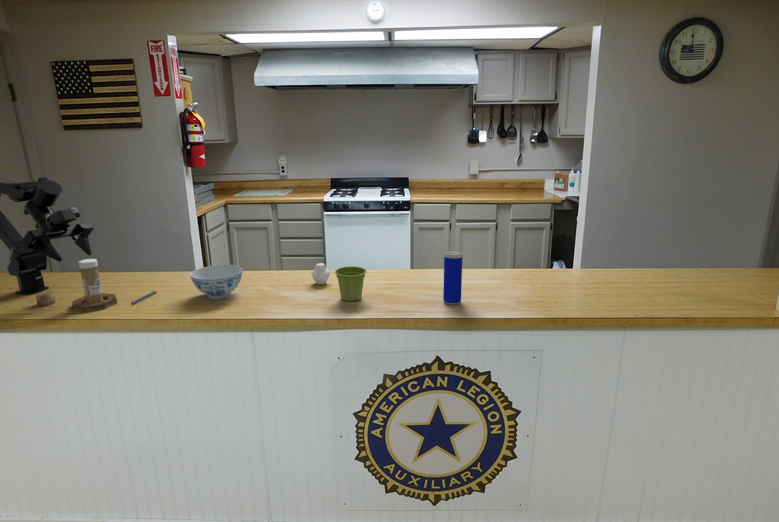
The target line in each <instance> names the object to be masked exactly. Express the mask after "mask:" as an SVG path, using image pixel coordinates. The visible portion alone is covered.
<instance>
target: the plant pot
mask: <svg viewBox="0 0 779 522" xmlns="http://www.w3.org/2000/svg"><path fill="white" fill-rule="evenodd" d="M334 273H335V275H336V278H337V281H338V287H339V293H340V298H341V300H342V301H344V300H345V301H346V302H352V301H355V300H357V301H359V299H360V298H361V299H362V297H363V295H362V294H363V288H364V287H363V286H364V279H365V276H366V273H367V268H364V267H361V266H354V265H352V266H342V267H339V268H336V269H335V270H334ZM361 299H360V300H361Z"/></svg>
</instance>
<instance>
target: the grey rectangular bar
mask: <svg viewBox="0 0 779 522" xmlns="http://www.w3.org/2000/svg"><path fill="white" fill-rule="evenodd" d="M156 294H157V291H156V290H153V291H151V292H148V293H147V294H145V295H142V296H141V297H139V298H137V299H135V300H134V299H133V300H132V301H131V302H130V303H131V304H132V305H133V306H134V305H136V304H138V303H139V302H142V301H144V300H146V299H148V298H150V297H152V296H154V295H156ZM131 304H130V305H131Z"/></svg>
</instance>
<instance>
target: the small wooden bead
mask: <svg viewBox="0 0 779 522" xmlns="http://www.w3.org/2000/svg"><path fill="white" fill-rule="evenodd" d="M35 299H36V304H37V306H38V307H41V306H43V307H49V306H52V304H53V305H54V303H55V302H56V303H57V300H56V296H55V293H54V291H53V292H52V291H46V292H41V293H38V294H36V295H35ZM56 303H55V304H56ZM48 305H49V306H48Z"/></svg>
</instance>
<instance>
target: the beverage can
mask: <svg viewBox="0 0 779 522" xmlns="http://www.w3.org/2000/svg"><path fill="white" fill-rule="evenodd" d="M462 279H463V253H462V252H461V251H458V250H447V251H446V252H445V253H444V256H443V293H442V294H443V296H442V299H443V300H442V301H443V302H444V303H445V304H446V303H447V304H446V305H449V304H452V305H451V306H454V305H453V304H457V305H458V304H460V303H461V302H462V284H463V283H462Z"/></svg>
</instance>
